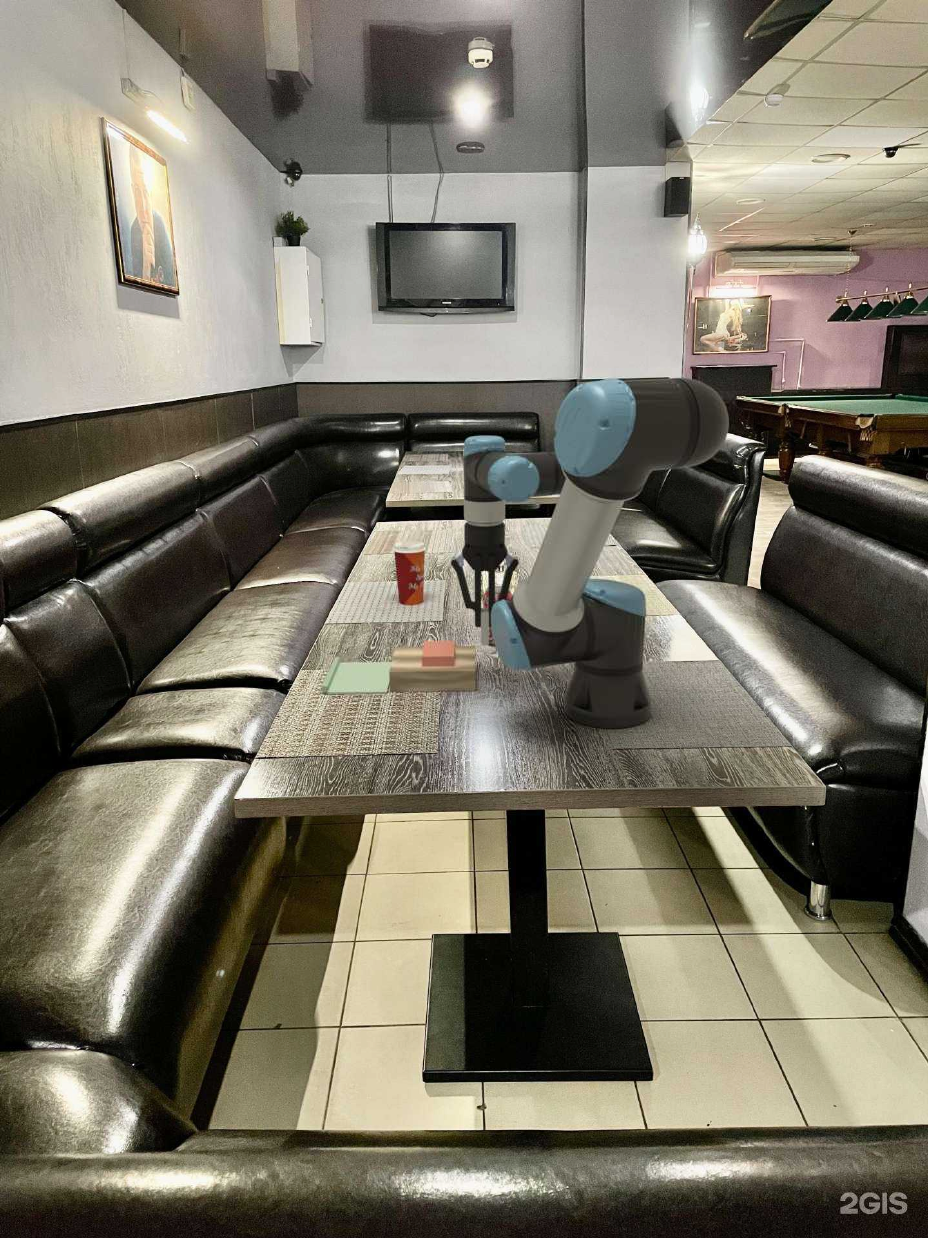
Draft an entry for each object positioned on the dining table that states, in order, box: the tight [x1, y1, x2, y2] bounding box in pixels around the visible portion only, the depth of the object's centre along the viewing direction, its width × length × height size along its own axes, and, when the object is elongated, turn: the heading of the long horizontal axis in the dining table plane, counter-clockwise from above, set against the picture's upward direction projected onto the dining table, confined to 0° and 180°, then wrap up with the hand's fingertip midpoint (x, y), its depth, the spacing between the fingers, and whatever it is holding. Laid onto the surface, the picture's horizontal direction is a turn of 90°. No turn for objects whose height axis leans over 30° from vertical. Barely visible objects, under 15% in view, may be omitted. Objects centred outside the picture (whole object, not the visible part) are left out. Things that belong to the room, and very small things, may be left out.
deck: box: [389, 645, 477, 693], centre depth 169 cm, size 14×16×4 cm
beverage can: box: [482, 585, 513, 646], centre depth 188 cm, size 6×6×12 cm
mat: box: [321, 656, 392, 695], centre depth 170 cm, size 16×12×2 cm
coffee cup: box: [392, 540, 427, 606], centre depth 218 cm, size 8×8×15 cm
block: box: [422, 640, 456, 667], centre depth 168 cm, size 9×6×2 cm, turn 179°
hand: (484, 642), depth 168 cm, fingers closed
